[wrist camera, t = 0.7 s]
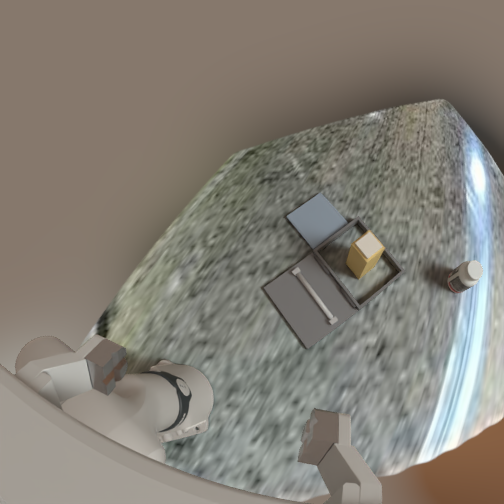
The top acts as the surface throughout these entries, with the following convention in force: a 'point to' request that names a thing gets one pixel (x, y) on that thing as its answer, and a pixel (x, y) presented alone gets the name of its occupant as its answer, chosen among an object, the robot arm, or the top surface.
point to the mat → (317, 220)
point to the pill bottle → (465, 276)
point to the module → (364, 254)
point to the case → (319, 293)
